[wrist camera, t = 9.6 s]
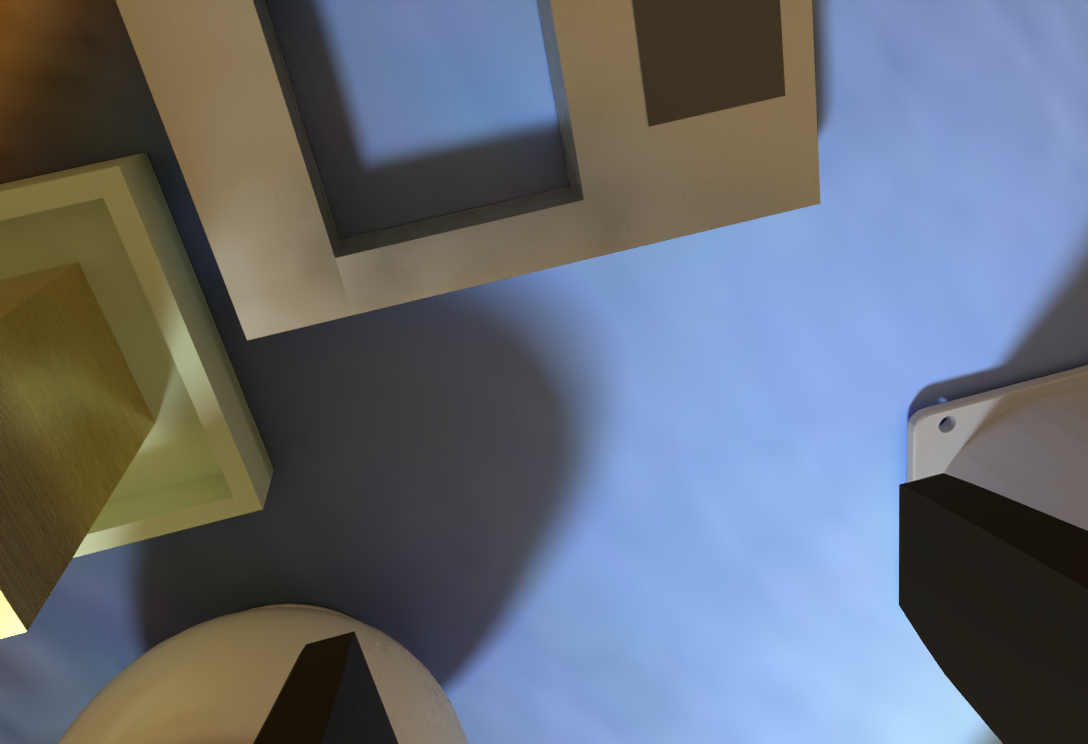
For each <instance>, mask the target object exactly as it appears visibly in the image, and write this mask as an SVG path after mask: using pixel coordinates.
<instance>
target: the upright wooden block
mask: <svg viewBox="0 0 1088 744" xmlns="http://www.w3.org/2000/svg"><path fill="white" fill-rule="evenodd" d="M154 425H155V421H154V419H153V417H152V415H151V413H150V411H149V409H148V406H147V404H146V402H145V400H144V398H143V396H142V394H141V392H140V390H139V388H138V386H137V383H136V381H135V379H134V377H133V375H132V373H131V371H130V369H129V367H128V365H127V363H126V360H125V358H124V356H123V354H122V352H121V350H120V348H119V346H118V344H117V342H116V339H115V337H114V335H113V333H112V331H111V329H110V327H109V325H108V323H107V321H106V319H105V316H104V314H103V312H102V310H101V308H100V306H99V304H98V302H97V300H96V298H95V295H94V293H93V291H92V289H91V287H90V285H89V283H88V281H87V279H86V277H85V275H84V272H83V270H82V268H81V266H80V264H79V262H74V263H70V264H66V265H61V266H57V267H53V268H49V269H45V270H40V271H36V272H32V273H28V274H24V275H19V276H15V277H11V278H7V279H3V280H0V639H2V638H6V637H9V636H13V635H17V634H20V633H24V632H27V631H28V629H29V628H30V626H31V625H32V623H33V621H34V620H35V618H36V616H37V615H38V613H39V612H40V610H41V608H42V607H43V605H44V603H45V602H46V600H47V599H48V597H49V595H50V594H51V592H52V590H53V589H54V587H55V586H56V584H57V582H58V581H59V579H60V577H61V576H62V574H63V573H64V571H65V569H66V568H67V566H68V564H69V563H70V561H71V560H72V558H73V556H74V555H75V553H76V551H77V550H78V548H79V547H80V545H81V543H82V542H83V540H84V538H85V537H86V535H87V534H88V532H89V530H90V529H91V527H92V525H93V524H94V522H95V521H96V519H97V517H98V516H99V514H100V512H101V511H102V509H103V508H104V506H105V504H106V503H107V501H108V499H109V498H110V496H111V495H112V493H113V491H114V490H115V488H116V486H117V485H118V483H119V482H120V480H121V478H122V477H123V475H124V473H125V472H126V470H127V469H128V467H129V465H130V464H131V462H132V460H133V459H134V457H135V456H136V454H137V452H138V451H139V449H140V447H141V446H142V444H143V443H144V441H145V439H146V438H147V436H148V434H149V433H150V431H151V430H152V428H153V426H154Z"/></svg>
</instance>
